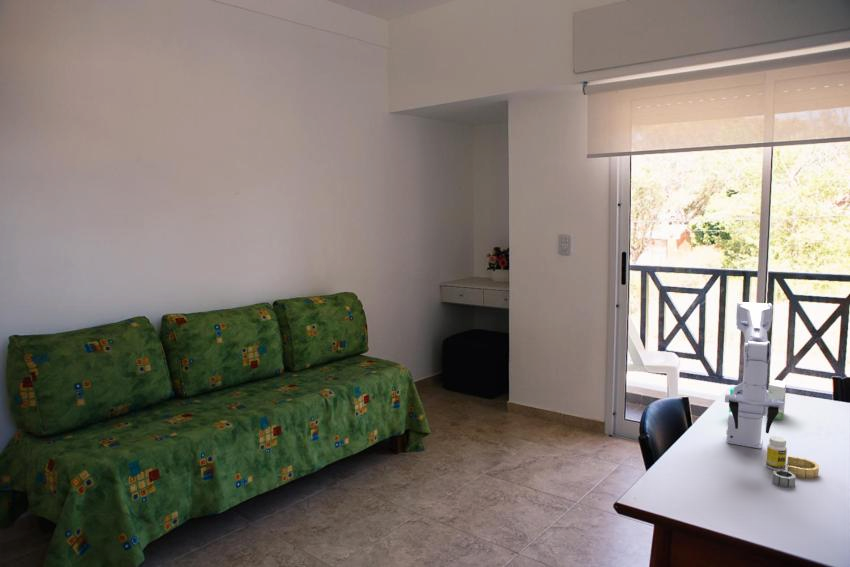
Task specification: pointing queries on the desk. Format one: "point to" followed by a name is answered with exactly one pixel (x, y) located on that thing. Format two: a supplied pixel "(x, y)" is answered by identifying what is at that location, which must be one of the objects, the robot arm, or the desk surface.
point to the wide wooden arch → (807, 470)
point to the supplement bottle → (776, 453)
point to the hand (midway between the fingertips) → (751, 429)
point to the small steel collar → (783, 478)
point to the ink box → (777, 394)
